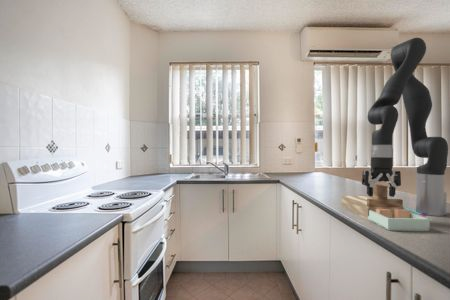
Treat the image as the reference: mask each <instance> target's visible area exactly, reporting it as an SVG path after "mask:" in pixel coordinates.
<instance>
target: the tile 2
mask: <svg viewBox="0 0 450 300" xmlns="http://www.w3.org/2000/svg"><path fill="white" fill-rule="evenodd" d="M410 213H411V211H410V210H407V209H394V218H410Z"/></svg>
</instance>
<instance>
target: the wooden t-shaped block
mask: <svg viewBox="0 0 450 300" xmlns="http://www.w3.org/2000/svg"><path fill="white" fill-rule="evenodd" d="M372 187H373V197H372V199H367V206H368V207H397V208H403V207H404V205H403V203H404V202H403V201H404V199H401V198H388V194H389V185H383V184H380V183H379V184H376V183H375V184H374V185H373V186H372Z"/></svg>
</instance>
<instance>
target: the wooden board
mask: <svg viewBox="0 0 450 300" xmlns="http://www.w3.org/2000/svg"><path fill="white" fill-rule="evenodd" d="M367 199H372V197H370V196H367V195H366V196H365V195H363V196H361V195H359V196H358V195H341V207H342V208H343V209H346V210H348V211H349V212H352V213H354V214H355V215H357V216H359V217H361V218H363V219H365V220H367V221H369V220H368V216H369V210H372V211H374V212H376V209H389V210H391V216H394V209H404V207H405V206H403V208H397V207H368V206H367Z"/></svg>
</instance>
